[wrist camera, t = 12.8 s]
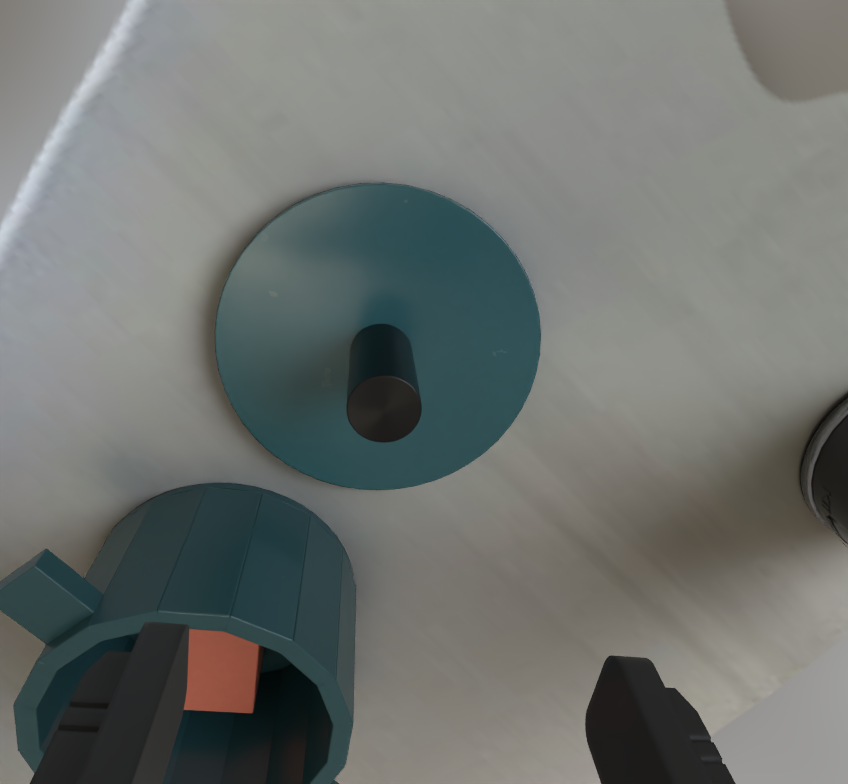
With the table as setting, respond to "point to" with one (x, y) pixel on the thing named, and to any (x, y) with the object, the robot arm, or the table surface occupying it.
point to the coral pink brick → (222, 672)
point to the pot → (206, 628)
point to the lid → (377, 336)
